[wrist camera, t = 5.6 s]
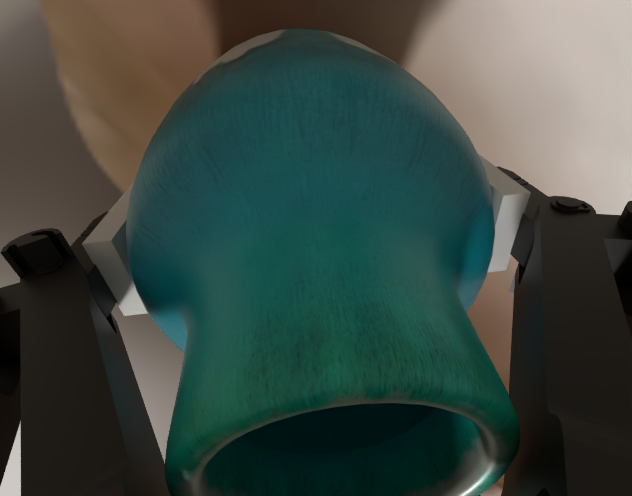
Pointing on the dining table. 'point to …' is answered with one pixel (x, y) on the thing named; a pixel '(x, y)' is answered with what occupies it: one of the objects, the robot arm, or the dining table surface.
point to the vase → (320, 279)
